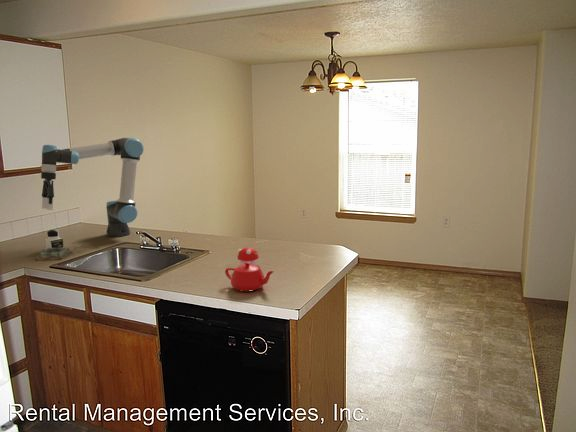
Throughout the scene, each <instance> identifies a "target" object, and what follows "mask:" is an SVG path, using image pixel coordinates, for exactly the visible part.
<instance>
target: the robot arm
mask: <svg viewBox="0 0 576 432" xmlns="http://www.w3.org/2000/svg"><path fill="white" fill-rule="evenodd" d="M143 154H144V145H143V143H142V142H141V140H140V139H138V138H133V137H122V138H117V139H114V140H109V141H107V142H105V143H103V142H102V143H98V144H91V145H90V144H89V145H83V146H76V147H70V148H63V149H60V148H59V149H58V146H57V145H54V144H53V145H52V144H44V145H43V146H42V149H41V165H40V168H41V172H40V173H41V174H40V178H41V179H43V185H42V192H41V197H42V200H41V202H42V203H41V205H42V206H41V210H42V209H44V210H45V209H46V210H47V211H49V210H50V211H52V210H53V204H54V198H55V192H54V180H56V178H57V173H56V172H57V163H58V164H60V163H61V164H68V165H69V164H71V165H78V163H79V161H80V160H83V159H91V158H97V157H103V156H112V157H114V156H120V159H121V160H122V164H121V165H122V167H121V177H120V190H119V198H118V199H117V200H109V201H107V202H106V207H105V208H106V214H107V215H106V216H107V228H106V233H105V234H106V236H107V237H110V238H113V237H114V238H116V237H117V238H118V237H125V236H129V235H130V234H131V230H130V227H129V225H128V224H130V223H132V222H134V221H135V220H136V219H137V217H138V210H137V208H136V201H135V200H134V198H135V197H134V196H135V185H136V175H137V166H138V165H137V164H138V162H139V161H140V159H141V155H143Z"/></svg>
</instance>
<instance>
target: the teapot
mask: <svg viewBox="0 0 576 432" xmlns="http://www.w3.org/2000/svg"><path fill="white" fill-rule="evenodd" d="M244 263H245V265H238V266H236V267H235V268H234V267H227V268H225V271H224V273H225V275H226V277H227V279H228V280H230V284H231V286H232V288H234V290H236V289H237V290H236V291H239V290H242V291H249V290H256V289H258V290H260V289H262V288H263V287H264V285H266V284H267V283H269V281H270V276H271V275H272V274H273V273H274V272H275V271H274V270H270V271H268V272H267V274H266V276H265V274H264V272H263V271H262V269H261V266H259V265H256V264H255V265H250V262H244ZM229 271H233V272H232V273H231V274H232V275H230V273H229ZM259 288H260V289H259ZM242 291H241V292H242ZM256 291H257V290H256Z"/></svg>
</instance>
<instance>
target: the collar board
mask: <svg viewBox="0 0 576 432" xmlns="http://www.w3.org/2000/svg"><path fill="white" fill-rule="evenodd" d="M71 254H73V251H72V250H69V247H64V248H48V249H46V248H45V249H43V250H42V251H41V252H39V253H38V257H36V258H35V260H36V261H61V260H64V259H66V258H67V257H68V256H70V255H71Z"/></svg>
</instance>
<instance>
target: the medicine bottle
mask: <svg viewBox="0 0 576 432" xmlns="http://www.w3.org/2000/svg"><path fill="white" fill-rule="evenodd" d="M44 241H45V247H46V248H45V250H46V249H48V248H65V247H64V239H63V237H60V231H59V229H50V230H48V231H47V238H45V239H44Z"/></svg>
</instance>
